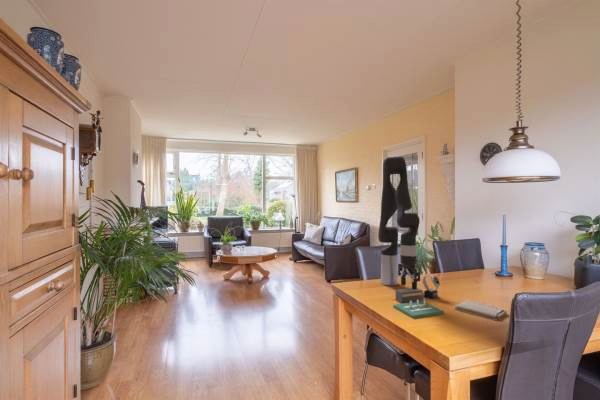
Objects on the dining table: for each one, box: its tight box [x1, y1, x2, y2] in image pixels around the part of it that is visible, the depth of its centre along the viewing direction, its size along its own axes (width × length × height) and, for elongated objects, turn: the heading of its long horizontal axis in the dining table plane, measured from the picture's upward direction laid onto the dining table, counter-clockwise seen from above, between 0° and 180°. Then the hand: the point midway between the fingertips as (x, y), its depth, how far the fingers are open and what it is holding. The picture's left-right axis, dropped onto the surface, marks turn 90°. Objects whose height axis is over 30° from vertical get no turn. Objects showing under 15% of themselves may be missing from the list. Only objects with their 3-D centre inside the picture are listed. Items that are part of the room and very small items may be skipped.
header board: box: [392, 298, 445, 319], centre depth 143 cm, size 14×16×5 cm
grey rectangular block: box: [395, 287, 424, 304], centre depth 157 cm, size 12×5×5 cm, turn 108°
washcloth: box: [454, 299, 508, 321], centre depth 141 cm, size 12×18×3 cm, turn 40°
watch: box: [422, 274, 441, 300], centre depth 162 cm, size 6×8×11 cm
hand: (408, 287), depth 157 cm, fingers open, 8 cm apart
